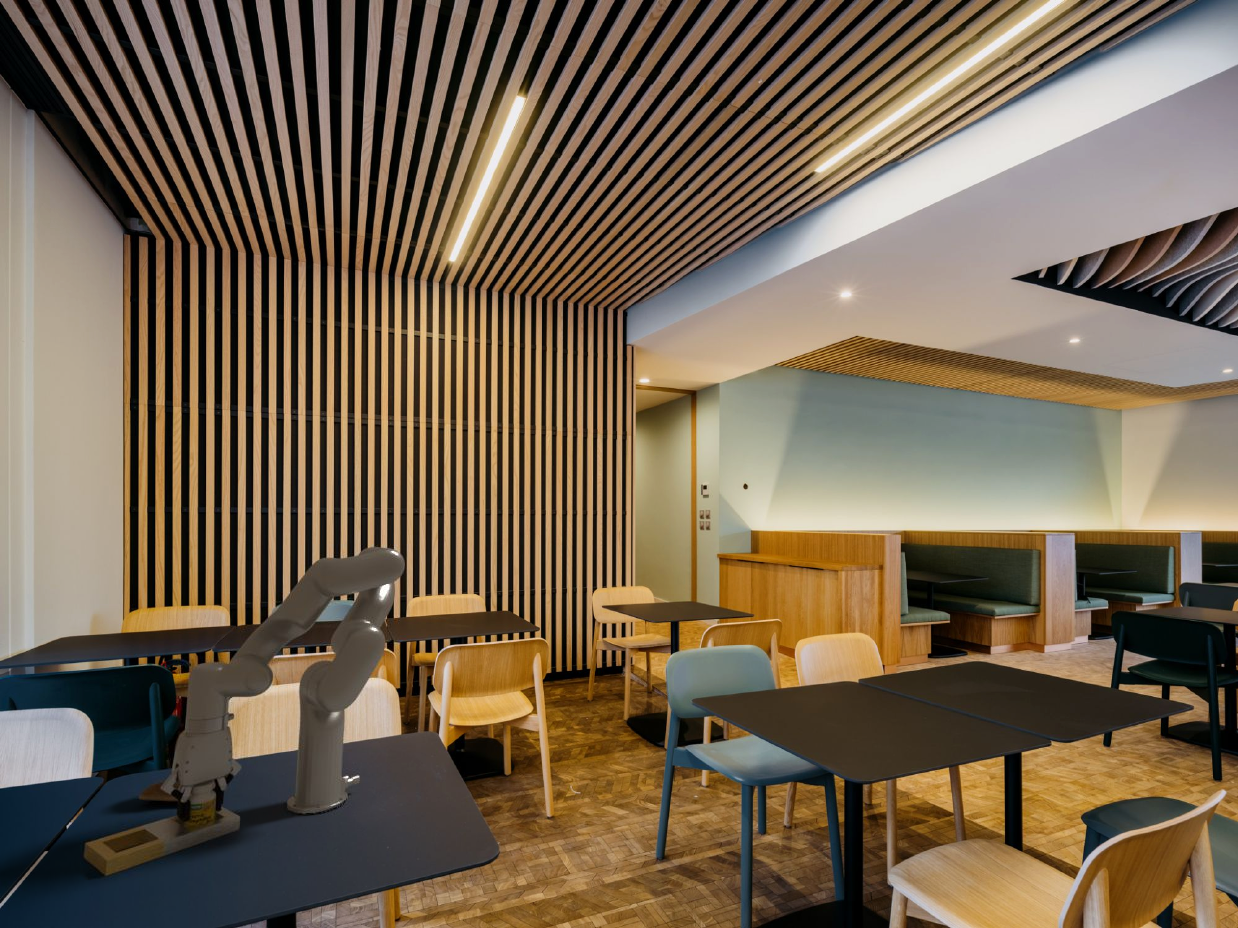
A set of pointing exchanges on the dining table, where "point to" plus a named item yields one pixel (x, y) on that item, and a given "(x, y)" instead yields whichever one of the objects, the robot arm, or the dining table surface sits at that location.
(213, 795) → the supplement bottle
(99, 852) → the holder
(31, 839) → the dining table surface
